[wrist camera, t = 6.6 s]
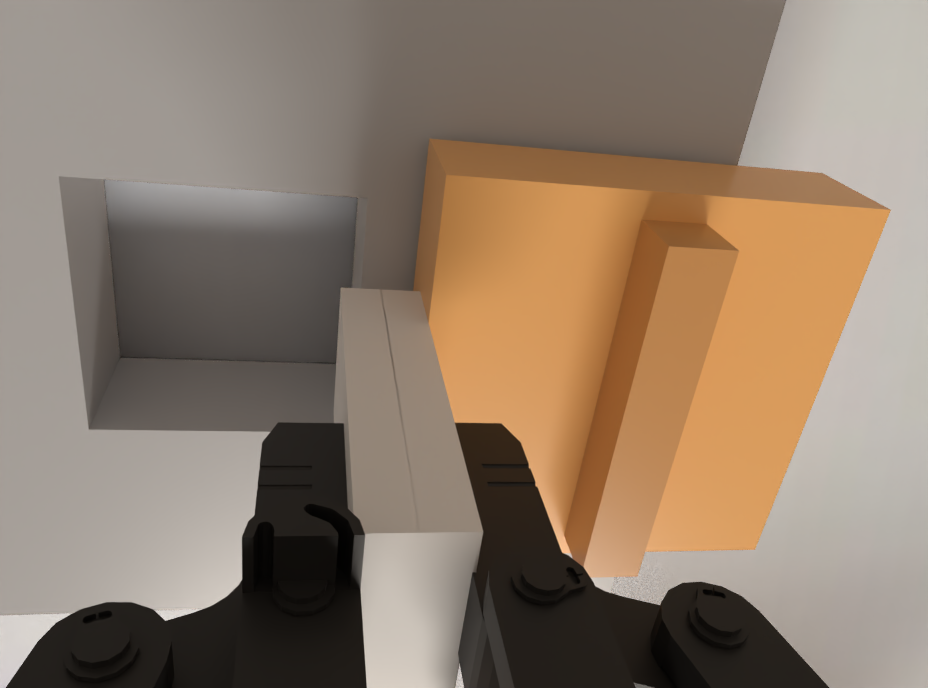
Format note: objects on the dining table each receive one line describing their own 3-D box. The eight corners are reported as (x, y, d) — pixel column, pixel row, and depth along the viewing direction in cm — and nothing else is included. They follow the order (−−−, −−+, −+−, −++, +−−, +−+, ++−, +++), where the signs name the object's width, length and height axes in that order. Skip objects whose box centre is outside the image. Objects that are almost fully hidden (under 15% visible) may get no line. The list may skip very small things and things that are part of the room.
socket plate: (-171, 529, 20) (-244, 623, 17) (-427, -244, 12) (-622, -283, 10) (578, 521, 24) (610, 596, 21) (727, -67, 16) (803, -62, 14)
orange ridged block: (391, 487, 18) (406, 601, 15) (429, 138, 14) (457, 199, 11) (712, 486, 20) (782, 590, 17) (822, 173, 16) (936, 234, 13)
